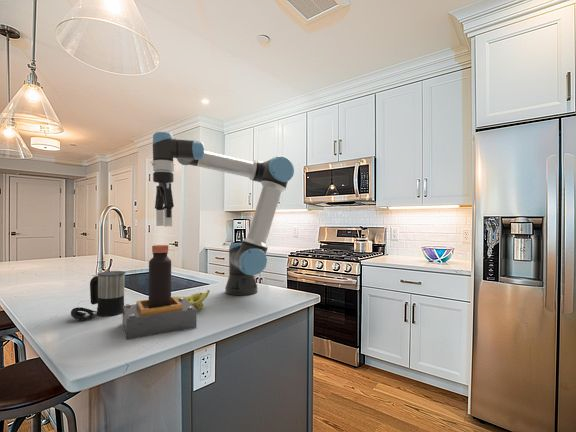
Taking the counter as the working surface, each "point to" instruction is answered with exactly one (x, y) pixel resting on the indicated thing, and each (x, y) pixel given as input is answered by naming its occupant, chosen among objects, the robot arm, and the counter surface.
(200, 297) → the yellow-green irregular piece
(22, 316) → the counter surface
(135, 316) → the gray fixture block
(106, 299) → the milk frother
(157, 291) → the vinegar
